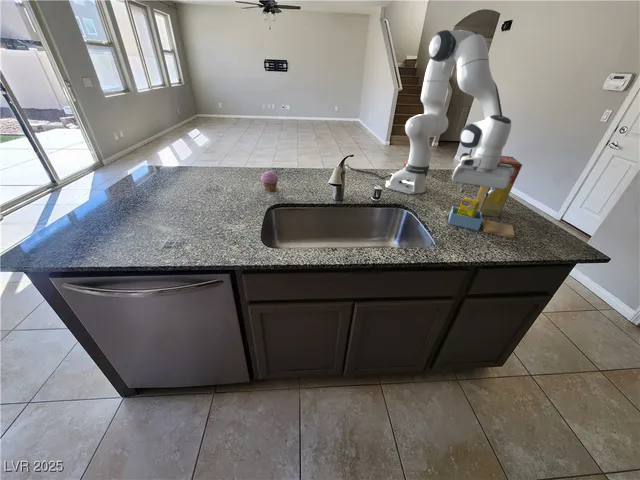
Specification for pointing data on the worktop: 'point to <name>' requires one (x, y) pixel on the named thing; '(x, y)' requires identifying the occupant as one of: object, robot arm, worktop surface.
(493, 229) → the oak board
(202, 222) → the worktop surface
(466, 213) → the supplement box
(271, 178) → the cupcake
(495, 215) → the food packaging
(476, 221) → the basket
